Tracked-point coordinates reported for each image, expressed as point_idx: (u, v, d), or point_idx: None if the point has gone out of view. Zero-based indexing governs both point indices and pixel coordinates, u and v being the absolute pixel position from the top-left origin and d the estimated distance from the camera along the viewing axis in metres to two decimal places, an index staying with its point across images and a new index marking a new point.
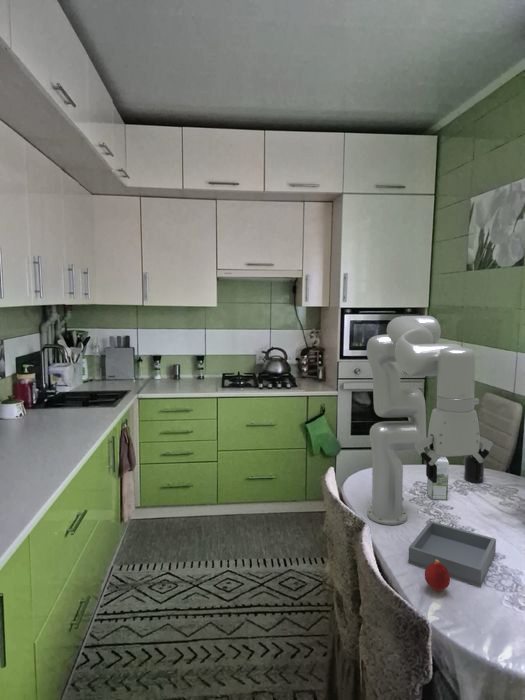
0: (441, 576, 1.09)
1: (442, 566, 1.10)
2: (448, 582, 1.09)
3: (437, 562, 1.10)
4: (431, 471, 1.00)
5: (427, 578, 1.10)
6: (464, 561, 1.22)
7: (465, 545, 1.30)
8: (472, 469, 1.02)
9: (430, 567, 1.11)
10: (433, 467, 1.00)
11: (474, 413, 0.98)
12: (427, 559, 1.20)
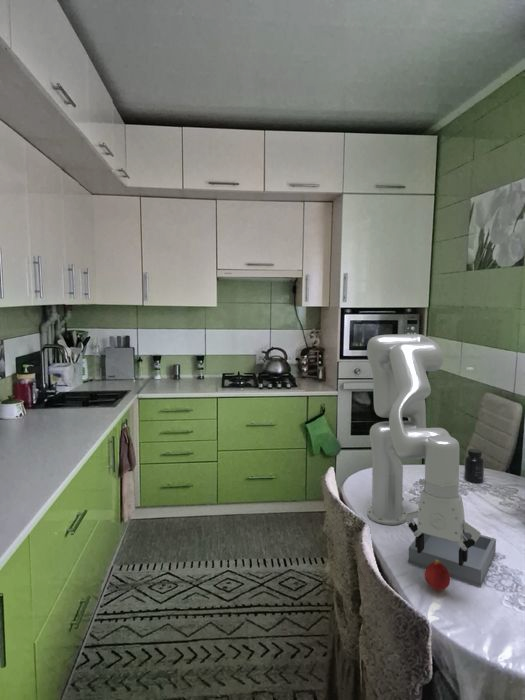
0: (441, 576, 1.09)
1: (442, 566, 1.10)
2: (448, 582, 1.09)
3: (437, 562, 1.10)
4: None
5: (427, 578, 1.10)
6: None
7: None
8: (422, 543, 1.13)
9: (430, 567, 1.11)
10: None
11: None
12: (427, 559, 1.20)
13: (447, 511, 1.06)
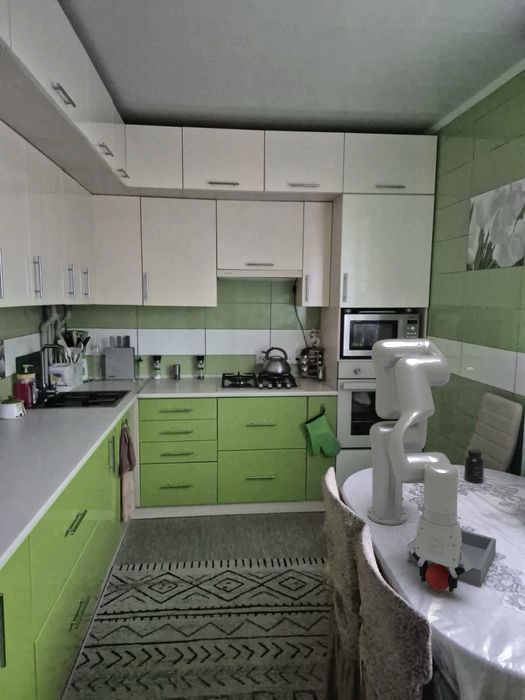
0: (442, 576, 1.09)
1: (443, 566, 1.10)
2: None
3: None
4: None
5: (428, 578, 1.10)
6: None
7: (465, 545, 1.30)
8: None
9: (430, 567, 1.11)
10: None
11: None
12: None
13: (445, 538, 1.07)
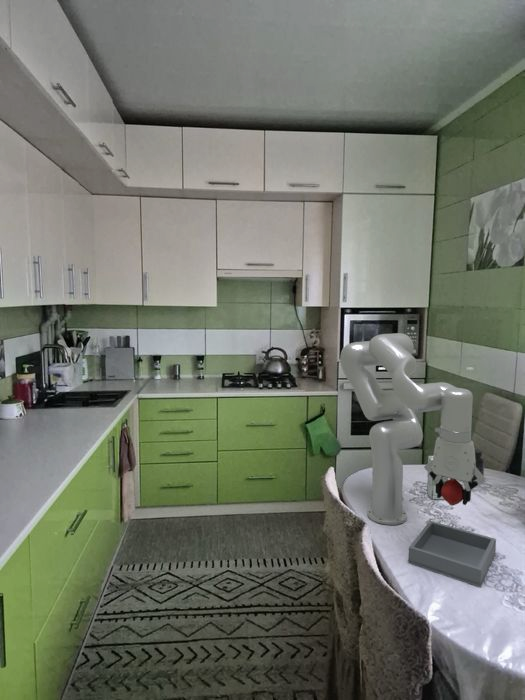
0: (457, 490, 1.20)
1: (457, 482, 1.21)
2: (462, 496, 1.20)
3: (453, 479, 1.22)
4: None
5: (443, 493, 1.22)
6: (464, 561, 1.22)
7: (465, 545, 1.30)
8: None
9: (446, 483, 1.22)
10: None
11: None
12: (427, 559, 1.20)
13: (460, 454, 1.18)
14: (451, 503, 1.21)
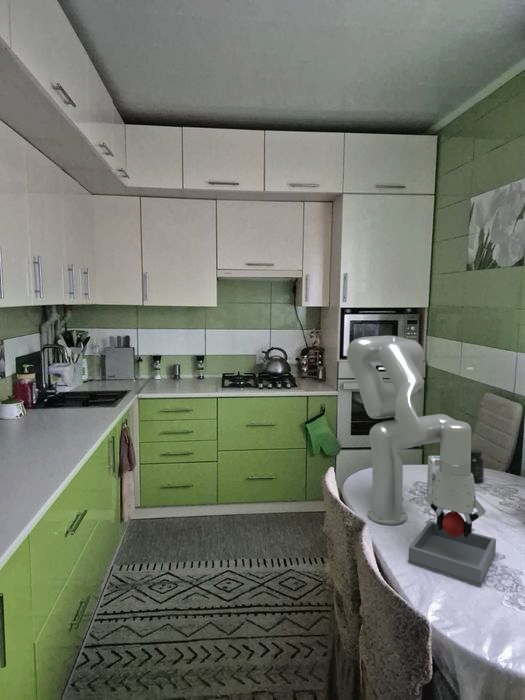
0: (458, 522, 1.21)
1: (458, 514, 1.22)
2: None
3: (453, 511, 1.23)
4: None
5: (445, 525, 1.23)
6: (464, 561, 1.22)
7: (465, 545, 1.30)
8: None
9: (447, 515, 1.23)
10: None
11: None
12: (427, 559, 1.20)
13: (460, 487, 1.19)
14: (452, 535, 1.22)
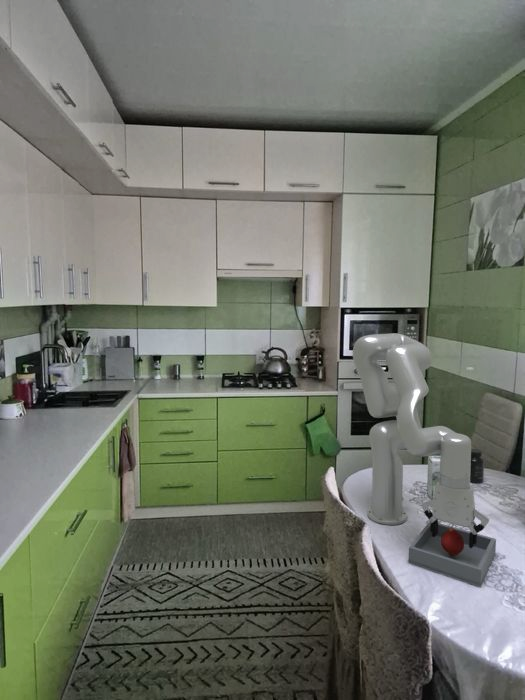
0: (456, 541, 1.22)
1: (456, 532, 1.23)
2: (462, 547, 1.22)
3: (452, 529, 1.24)
4: None
5: (443, 544, 1.24)
6: (464, 561, 1.22)
7: (465, 545, 1.30)
8: (436, 528, 1.27)
9: (446, 534, 1.24)
10: None
11: None
12: (427, 559, 1.20)
13: (460, 500, 1.20)
14: (451, 554, 1.23)
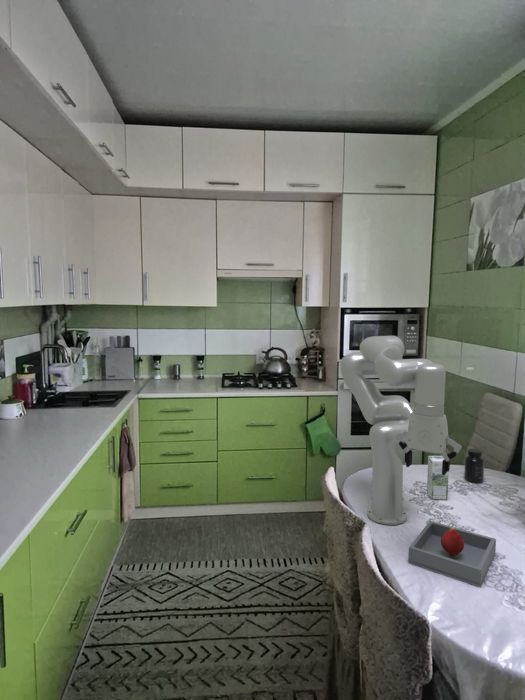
0: (457, 540, 1.22)
1: (456, 532, 1.23)
2: (462, 546, 1.22)
3: (452, 529, 1.24)
4: None
5: (444, 544, 1.23)
6: (464, 561, 1.22)
7: (465, 545, 1.30)
8: (410, 458, 1.28)
9: (446, 534, 1.24)
10: None
11: None
12: (427, 559, 1.20)
13: (433, 428, 1.21)
14: (452, 554, 1.23)
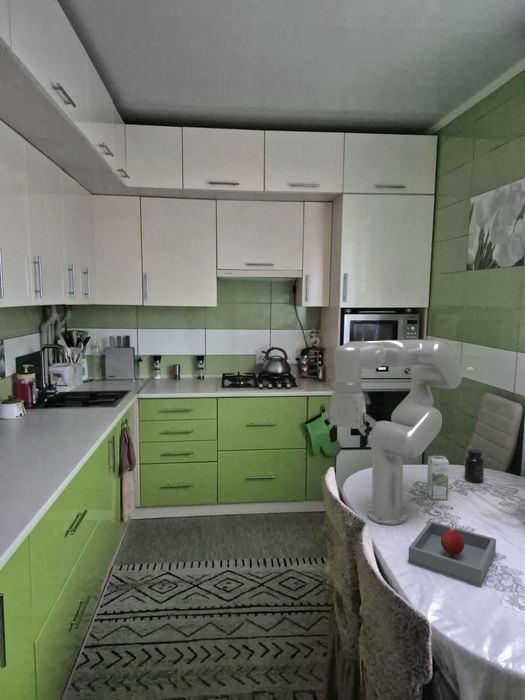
0: (457, 541, 1.22)
1: (457, 533, 1.23)
2: (463, 547, 1.22)
3: (452, 529, 1.23)
4: None
5: (444, 544, 1.23)
6: (464, 561, 1.22)
7: (465, 545, 1.30)
8: (334, 435, 1.38)
9: (446, 534, 1.24)
10: None
11: None
12: (427, 559, 1.20)
13: (350, 404, 1.30)
14: (452, 554, 1.23)
